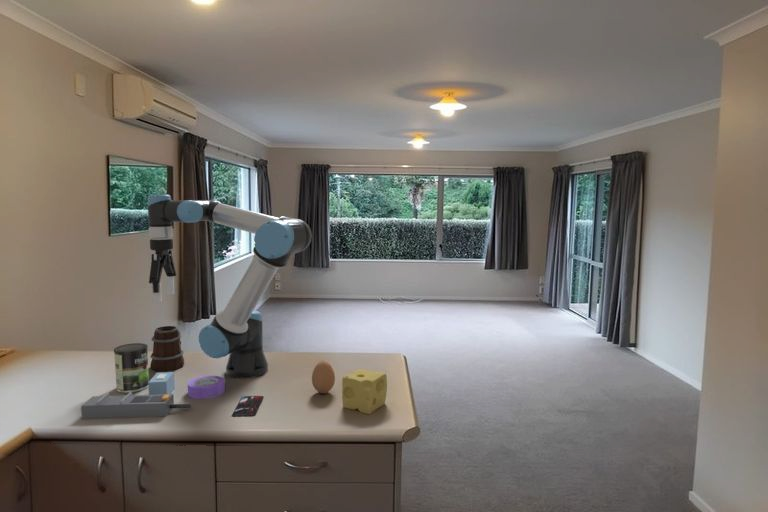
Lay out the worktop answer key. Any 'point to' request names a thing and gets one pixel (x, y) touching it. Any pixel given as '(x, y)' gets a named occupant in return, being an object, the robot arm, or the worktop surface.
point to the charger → (162, 383)
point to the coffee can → (131, 367)
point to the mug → (166, 349)
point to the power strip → (129, 406)
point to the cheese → (364, 390)
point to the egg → (323, 377)
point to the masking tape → (206, 387)
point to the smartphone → (248, 406)
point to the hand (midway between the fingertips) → (164, 297)
